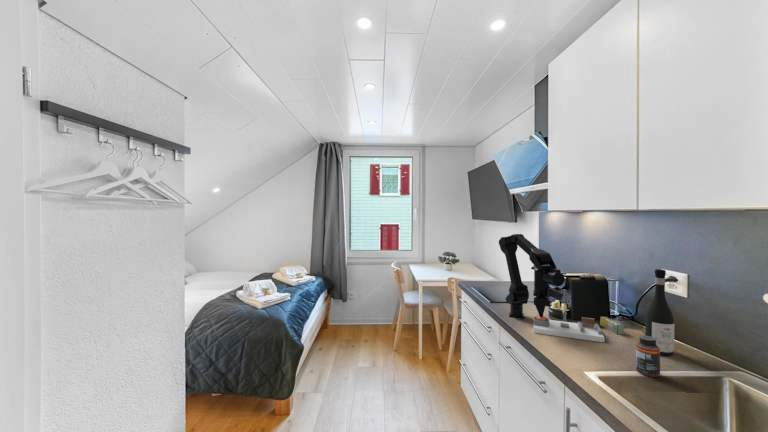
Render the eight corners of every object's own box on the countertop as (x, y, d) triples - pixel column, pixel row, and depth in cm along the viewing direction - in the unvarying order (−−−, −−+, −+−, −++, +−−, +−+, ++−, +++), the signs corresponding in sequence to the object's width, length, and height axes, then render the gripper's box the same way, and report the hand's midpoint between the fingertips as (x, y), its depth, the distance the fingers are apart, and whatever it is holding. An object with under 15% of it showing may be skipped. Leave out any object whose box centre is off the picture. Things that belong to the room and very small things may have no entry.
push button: (536, 319, 145) (536, 314, 145) (546, 320, 144) (546, 315, 144) (536, 322, 142) (536, 317, 142) (546, 323, 140) (546, 318, 140)
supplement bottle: (651, 369, 106) (651, 334, 106) (665, 378, 100) (665, 341, 100) (631, 368, 107) (631, 333, 106) (644, 377, 101) (644, 341, 100)
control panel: (533, 322, 150) (533, 313, 150) (597, 330, 140) (597, 320, 140) (533, 332, 137) (534, 323, 137) (604, 342, 127) (604, 332, 127)
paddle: (581, 325, 139) (581, 317, 139) (594, 326, 138) (594, 318, 138) (582, 326, 138) (582, 317, 138) (594, 327, 137) (594, 319, 137)
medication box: (624, 335, 135) (624, 325, 135) (617, 335, 135) (617, 325, 135) (605, 325, 147) (606, 316, 147) (599, 324, 147) (599, 316, 147)
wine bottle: (679, 357, 114) (680, 272, 114) (653, 355, 116) (654, 271, 115) (664, 347, 122) (665, 268, 122) (640, 346, 123) (641, 267, 123)
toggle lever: (562, 320, 140) (561, 310, 142) (566, 321, 140) (566, 311, 141) (562, 320, 139) (562, 310, 140) (567, 321, 138) (566, 311, 139)
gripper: (564, 287, 131) (564, 326, 131) (560, 278, 148) (560, 312, 148) (533, 285, 135) (533, 322, 135) (533, 276, 152) (533, 309, 152)
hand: (541, 316), depth 143 cm, fingers closed, pressing on push button
